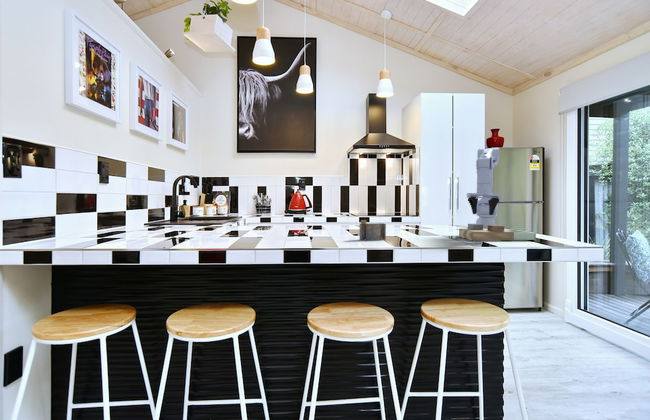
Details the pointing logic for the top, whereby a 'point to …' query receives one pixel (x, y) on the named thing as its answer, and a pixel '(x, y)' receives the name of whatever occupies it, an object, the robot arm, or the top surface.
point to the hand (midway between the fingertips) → (482, 214)
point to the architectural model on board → (372, 231)
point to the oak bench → (485, 235)
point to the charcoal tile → (475, 226)
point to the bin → (523, 235)
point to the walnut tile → (496, 228)
